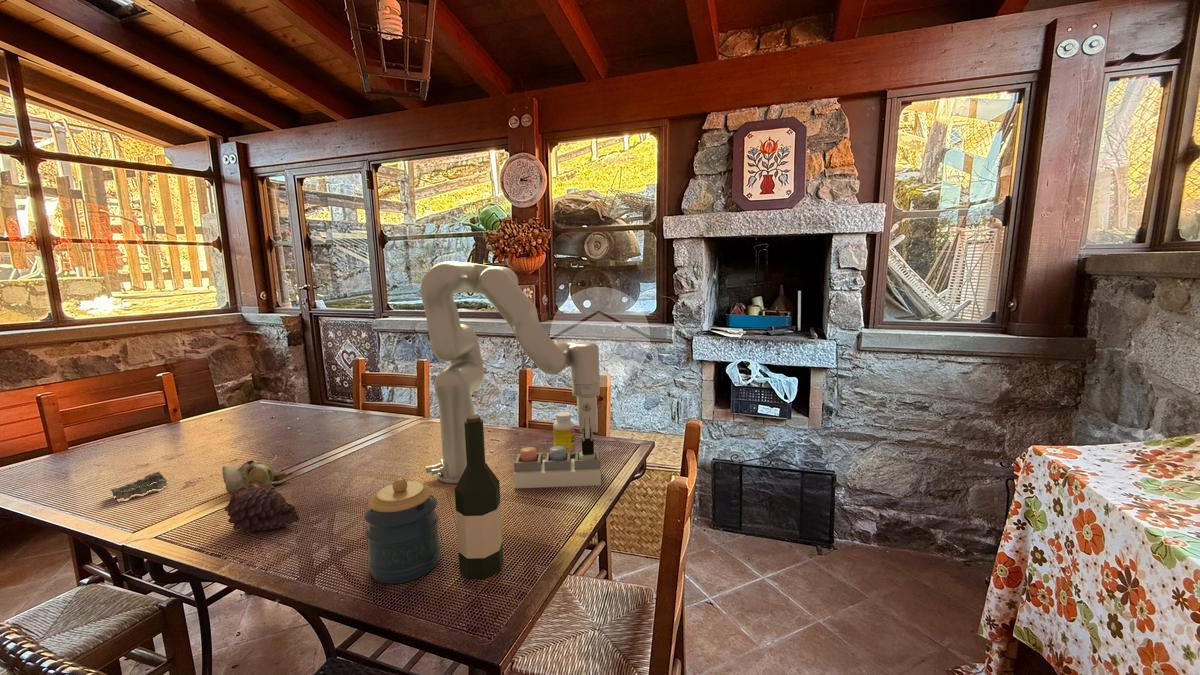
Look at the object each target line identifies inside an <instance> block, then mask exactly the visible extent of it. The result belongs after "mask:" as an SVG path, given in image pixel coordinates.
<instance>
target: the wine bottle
mask: <svg viewBox="0 0 1200 675" xmlns="http://www.w3.org/2000/svg"><path fill="white" fill-rule="evenodd" d="M464 425H465V442H466V459H467V466H466V468H465V470H464V472H463V474H462V476H461V478H460V480H459V482H458V483H456V486H455V488H454V500H455V501H454V502H455V514H456V516H455V518H456V534H457V547H458V563H459V566H458V567H459V573H460V574H461V575H462V576H464V577H465V578H466V579H468V580H486V579H488V578H490V577H492V576H493V575H495V574H497V573H500V572H501V569H502V567H503V564H504V550H503V549H504V546H503V528H502V527H503V525H502V511H501V509H502V507H501V505H502V504H501V486H500V480H499V478H498V477H497V476H496V474H494V472H493V471H492V469H491V467H490V466H488V464H487V463H486V452H485V451H486V450H485V435H484V434H485V432H484V419H481V415H478V414H475V415H471V416H468V417H467V420H466V421H465V422H464Z"/></svg>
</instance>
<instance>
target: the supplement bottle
mask: <svg viewBox="0 0 1200 675" xmlns="http://www.w3.org/2000/svg"><path fill="white" fill-rule="evenodd" d="M555 419H556V421H554V422H553V425H552V427H553V430H552V431H553V434H552V435H553V447H554V446H563V447H565V448H566V452H571V456H572V455H575V452H576V444H575V443H576V442H575V441H576V440H575V439H576V438H575V437H576V436H575V423H574V422H573V420H571V419H572V413H571V412H567V411H560V412H556V414H555Z"/></svg>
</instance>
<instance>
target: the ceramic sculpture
mask: <svg viewBox="0 0 1200 675" xmlns="http://www.w3.org/2000/svg"><path fill="white" fill-rule="evenodd" d="M221 469H222V478H223V483H225V484H224V485H225V491H227V493H229V494H230V492H234V491H237V490H238V489H240V488H241V487H245V488H246V489H245V490H248V489H249V487H251V486H254V487H256V488H258V489H259V488H265V489H267V488H269V489H271V490H276V487H275V486H274V485H272V483H274V482H279V481H282V480H285V479H287V478H289V477H291V476H292V475H293V474H294V472H289V473H286V472H282V471H281V470H275V469H273V467H272V466H271V465H270V464H268V463H265V462H264V463H262V462H255V460H252V459H251V460H249V461H246V462H244V463H243V464H242V465H241V466H240V467H237V466H227V465H226V466H225V465H223V466H222V468H221Z"/></svg>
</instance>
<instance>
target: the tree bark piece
mask: <svg viewBox="0 0 1200 675" xmlns="http://www.w3.org/2000/svg"><path fill="white" fill-rule="evenodd" d="M153 482H157V483H153ZM167 482H168V480H167V479H166V478H165V477H164V476H163V474H162V473H161V472H160V471H156V472H152V473H149V474H147V475H146V476H144V478H141V479H140V478H139V479H137V480H136V481H134V482H132V483H127V484H124V485H121V486H120V487H118V488H117V487H114V488H110V491H111V492H112V497H113V496H116V499H120V498H124V499H126V498H129V497H130V496H131V495H134V494H143V493H146V492H147V491H149V490H152V489H161V488H163V487H164V486H167V487H168V484H167ZM151 483H153V484H151ZM150 484H151V485H150ZM139 486H140V487H139ZM121 491H122V492H121ZM116 499H115V500H116Z"/></svg>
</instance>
